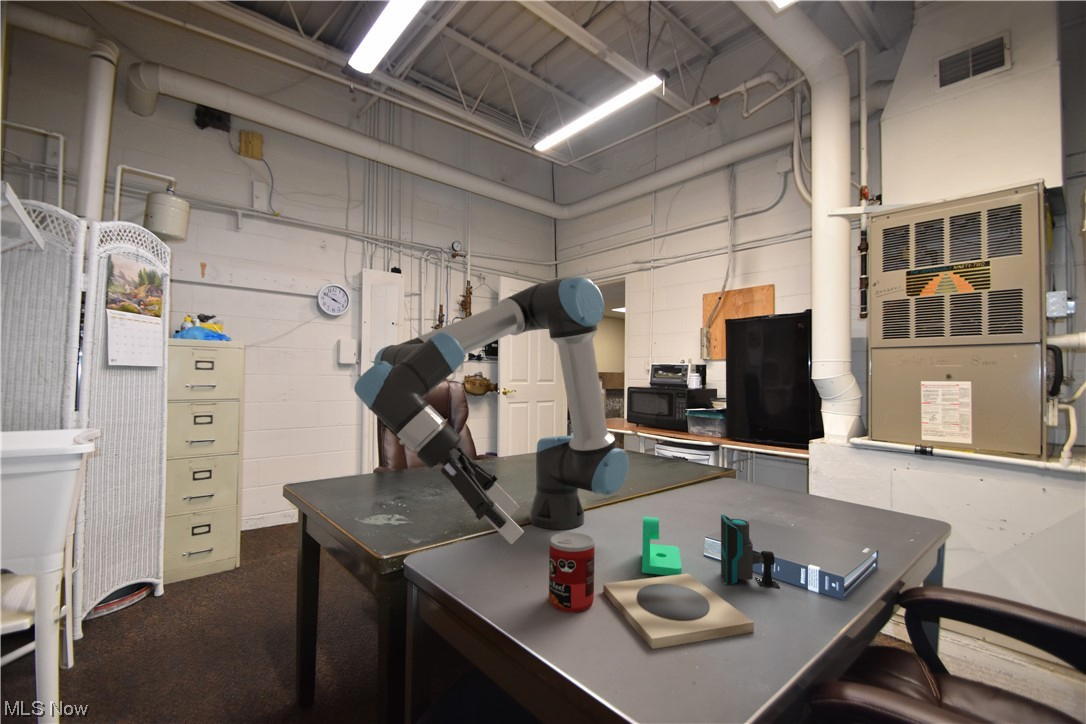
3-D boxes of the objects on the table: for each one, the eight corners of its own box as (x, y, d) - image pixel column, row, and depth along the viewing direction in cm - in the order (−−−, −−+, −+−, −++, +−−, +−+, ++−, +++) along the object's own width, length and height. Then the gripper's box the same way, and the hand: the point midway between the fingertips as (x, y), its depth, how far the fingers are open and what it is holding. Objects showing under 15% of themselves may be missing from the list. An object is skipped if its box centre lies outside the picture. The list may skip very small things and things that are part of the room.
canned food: (542, 596, 82) (542, 535, 82) (581, 588, 85) (581, 529, 86) (560, 617, 75) (561, 550, 75) (601, 608, 78) (602, 544, 79)
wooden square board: (603, 591, 84) (603, 582, 84) (687, 581, 89) (687, 571, 89) (652, 649, 67) (652, 636, 67) (753, 631, 72) (753, 620, 72)
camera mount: (681, 582, 89) (682, 529, 89) (642, 577, 91) (642, 526, 91) (678, 558, 100) (678, 511, 101) (643, 554, 102) (643, 509, 103)
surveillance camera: (781, 526, 86) (725, 522, 88) (781, 591, 86) (725, 585, 88) (772, 517, 91) (720, 513, 93) (773, 577, 91) (720, 572, 93)
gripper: (426, 442, 90) (499, 516, 91) (399, 468, 65) (500, 570, 67) (453, 415, 91) (526, 490, 92) (437, 431, 66) (537, 533, 67)
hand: (516, 523), depth 79 cm, fingers open, 13 cm apart
